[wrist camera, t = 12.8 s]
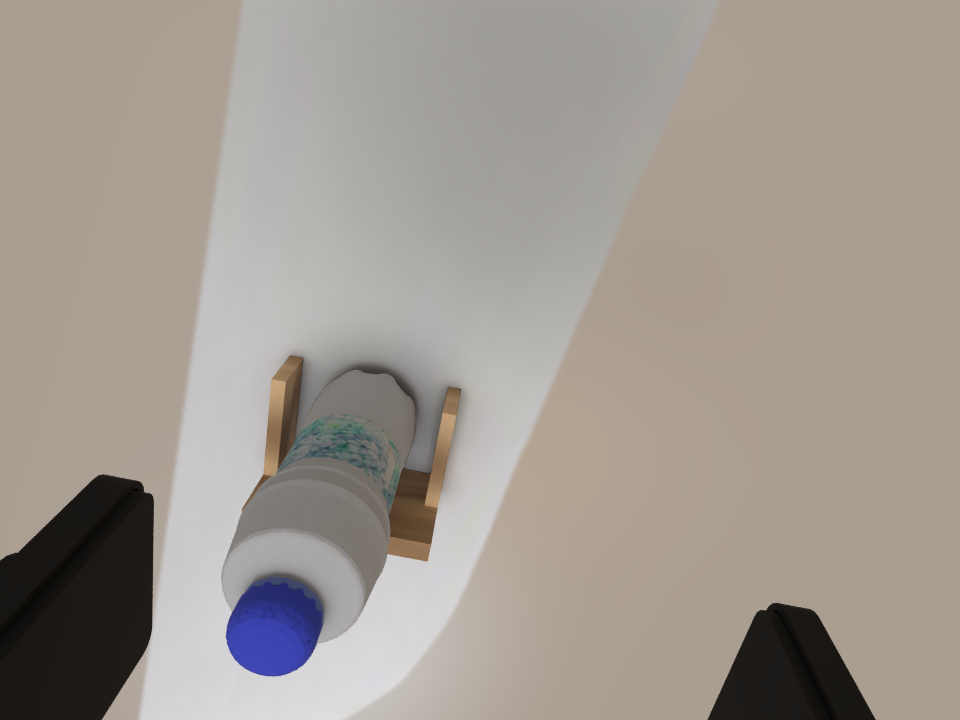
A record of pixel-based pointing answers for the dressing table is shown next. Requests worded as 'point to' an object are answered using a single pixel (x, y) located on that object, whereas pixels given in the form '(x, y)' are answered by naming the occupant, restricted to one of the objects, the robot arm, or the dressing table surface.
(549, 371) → the dressing table surface
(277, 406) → the wooden u-shaped piece
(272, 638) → the bottle
